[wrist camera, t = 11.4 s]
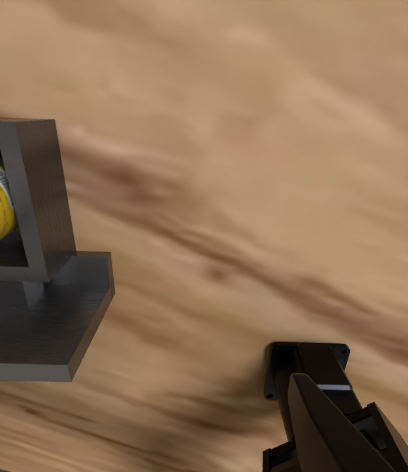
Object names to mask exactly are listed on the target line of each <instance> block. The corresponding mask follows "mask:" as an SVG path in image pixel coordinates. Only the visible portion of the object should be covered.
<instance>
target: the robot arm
mask: <svg viewBox="0 0 408 472" xmlns="http://www.w3.org/2000/svg"><path fill="white" fill-rule="evenodd" d="M276 348H278V349H276ZM342 350H343V351H342ZM349 354H350V349H349V347H348V346H347V345H346V344H332V343H296V342H275V343H273V344H272V346H271V350H270V356H269V363H268V369H267V375H266V381H265V387H264V397H265V399H267V400H278V403H279V407H280V411H281V415H282V419H283V423H284V427H285V431H286V435H287V439H288V442H286V443H284V444H282V445H280V446H277V447H275V448H273V449H270V448H269V449H267V450H265V451H263V472H408V446H407V444H406V443H405V441H404V440H403V438H402V437H401V435H400V434H399V433H398V431H397V430H396V429H395V428H394V426H393V425H392V424H391V422H390V421H389V420H388V419H387V417H386V416H385V415H384V413H383V412H382V411H381V410H380V408H379V407H378V406H377V405H376V403H375V402H372V403H370V404H368V405H367V407H365V408H362V406H361V404H360V402H359V401H358V399H357V397H356V395H355V393H354V391H353V389H352V385H351V383H350V381H349V379H348V378H347V376H346V374H345V372H344V370H345V367H346V364H347V361H348V357H349Z"/></svg>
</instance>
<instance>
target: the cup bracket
mask: <svg viewBox="0 0 408 472" xmlns="http://www.w3.org/2000/svg"><path fill="white" fill-rule="evenodd" d="M0 158H2V159H3V162H4V167H5V171H6V175H7V179H8V183H9V187H10V191H11V195H12V200H13V204H14V208H15V212H16V216H17V220H18V224H19V228H17V229H16V230H15V231H13V232H12V233H10V234H9V235H7V236H5V237H4V238H2V239H1V240H0V380H12V381H50V382H71V381H72V379H73V377H74V375H75V373H76V371H77V369H78V367H79V365H80V363H81V361H82V359H83V357H84V355H85V353H86V351H87V349H88V347H89V345H90V343H91V341H92V339H93V337H94V335H95V333H96V331H97V329H98V327H99V325H100V323H101V321H102V319H103V317H104V315H105V313H106V311H107V309H108V307H109V305H110V303H111V301H112V299H113V297H114V294H115V289H114V279H113V270H112V261H111V252H89V251H76V247H75V241H74V235H73V229H72V223H71V216H70V210H69V204H68V198H67V192H66V186H65V180H64V174H63V167H62V161H61V155H60V149H59V143H58V137H57V131H56V124H55V120H53V119H23V118H0Z"/></svg>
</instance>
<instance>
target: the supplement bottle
mask: <svg viewBox="0 0 408 472" xmlns="http://www.w3.org/2000/svg"><path fill="white" fill-rule="evenodd" d="M17 228H19V224H18V220H17V216H16V212H15V208H14V204H13V200H12V195H11V191H10V187H9V183H8V179H7V175H6V171H5V167H4V162H3V159H2V158H0V240H1V239H2V238H4V237H5V236H7V235H9V234H10V233H12V232H13V231H15V230H16V229H17Z"/></svg>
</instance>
